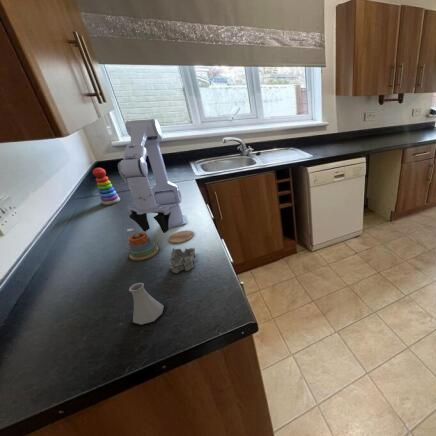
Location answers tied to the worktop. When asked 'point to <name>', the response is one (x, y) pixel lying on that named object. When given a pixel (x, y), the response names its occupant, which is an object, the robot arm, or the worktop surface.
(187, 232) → the cork coaster
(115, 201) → the stacking toy
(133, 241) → the orange ring
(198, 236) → the worktop surface
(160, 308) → the flask
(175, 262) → the egg carton
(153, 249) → the ring stack
